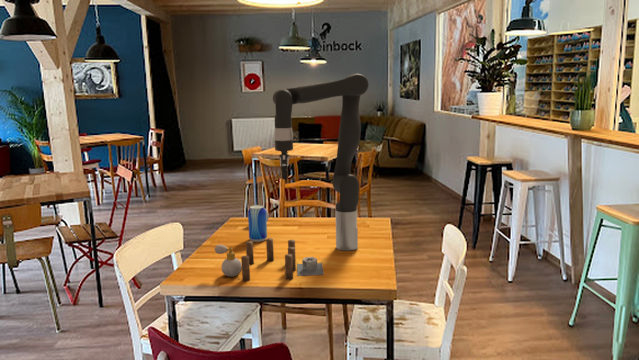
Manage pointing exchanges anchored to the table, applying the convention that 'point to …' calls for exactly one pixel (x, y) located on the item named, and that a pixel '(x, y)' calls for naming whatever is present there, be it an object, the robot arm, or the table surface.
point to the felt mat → (317, 272)
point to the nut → (309, 264)
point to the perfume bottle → (229, 261)
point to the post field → (269, 259)
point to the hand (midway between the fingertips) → (285, 177)
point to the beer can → (257, 223)
